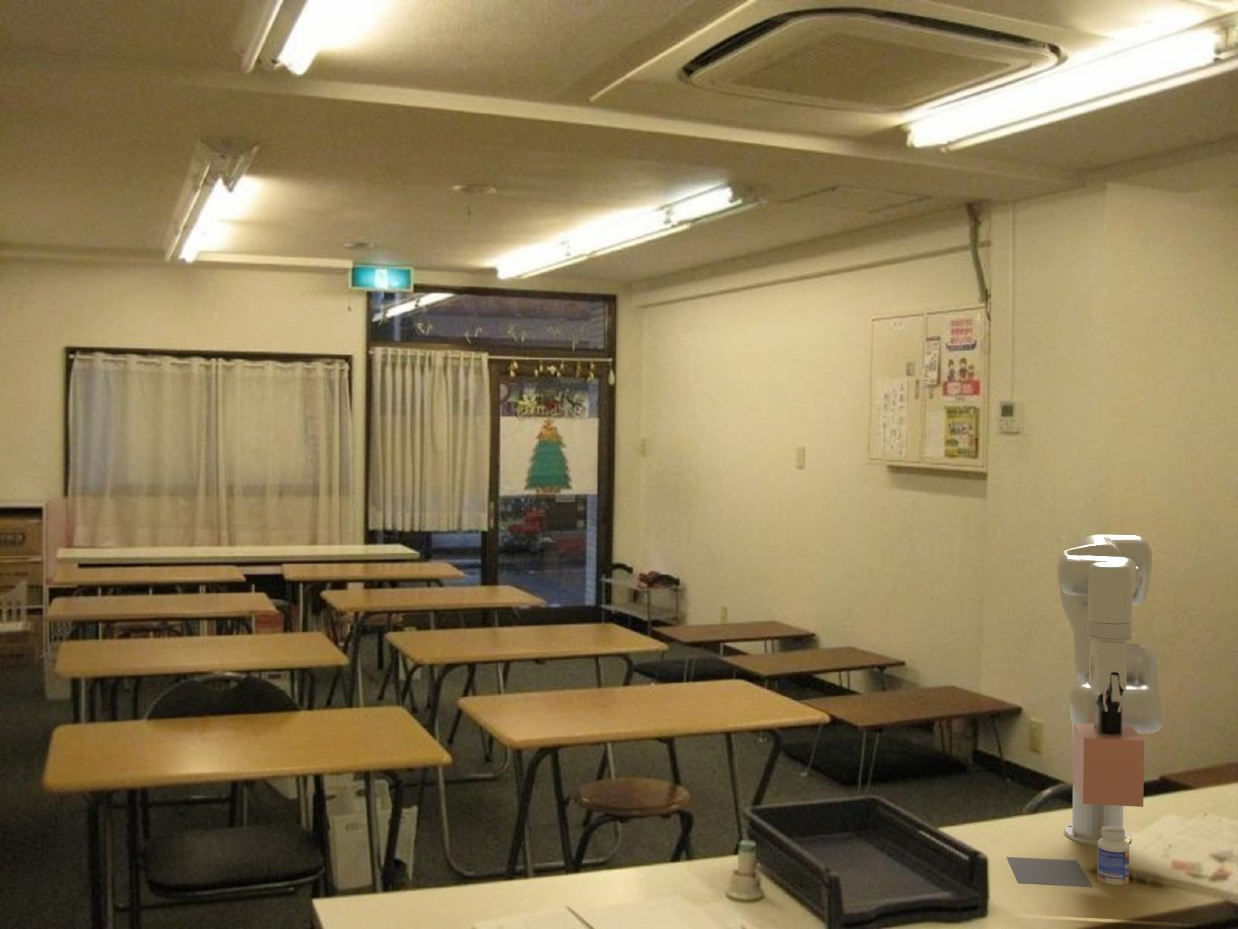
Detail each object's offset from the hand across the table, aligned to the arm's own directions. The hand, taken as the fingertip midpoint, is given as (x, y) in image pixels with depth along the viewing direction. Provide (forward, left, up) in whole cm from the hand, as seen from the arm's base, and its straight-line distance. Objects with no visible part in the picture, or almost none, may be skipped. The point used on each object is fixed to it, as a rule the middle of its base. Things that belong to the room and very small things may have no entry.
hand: (1108, 728), depth 222 cm
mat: (-2, -10, -28) cm, 30 cm away
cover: (0, 0, -12) cm, 12 cm away
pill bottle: (0, +1, -28) cm, 29 cm away
